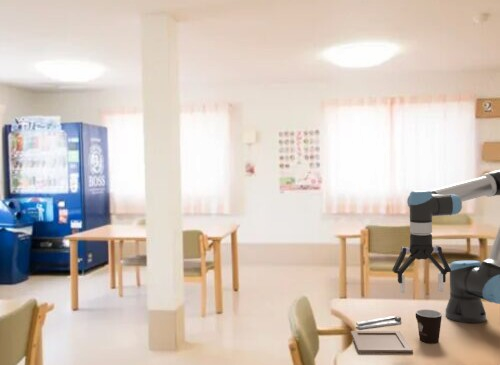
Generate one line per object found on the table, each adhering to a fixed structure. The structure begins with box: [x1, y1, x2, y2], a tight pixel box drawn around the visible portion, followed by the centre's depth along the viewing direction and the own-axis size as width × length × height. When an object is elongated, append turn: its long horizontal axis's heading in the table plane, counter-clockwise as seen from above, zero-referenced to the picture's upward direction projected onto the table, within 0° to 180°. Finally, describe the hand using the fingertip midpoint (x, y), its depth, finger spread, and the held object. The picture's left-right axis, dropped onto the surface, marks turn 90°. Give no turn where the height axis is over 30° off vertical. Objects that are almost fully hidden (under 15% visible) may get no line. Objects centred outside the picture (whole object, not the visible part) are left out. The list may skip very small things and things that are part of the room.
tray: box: [350, 330, 414, 355], centre depth 170 cm, size 18×18×1 cm
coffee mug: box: [415, 309, 443, 345], centre depth 173 cm, size 12×9×10 cm
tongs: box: [355, 315, 402, 330], centre depth 189 cm, size 19×5×2 cm, turn 106°
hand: (421, 291), depth 173 cm, fingers open, 13 cm apart
